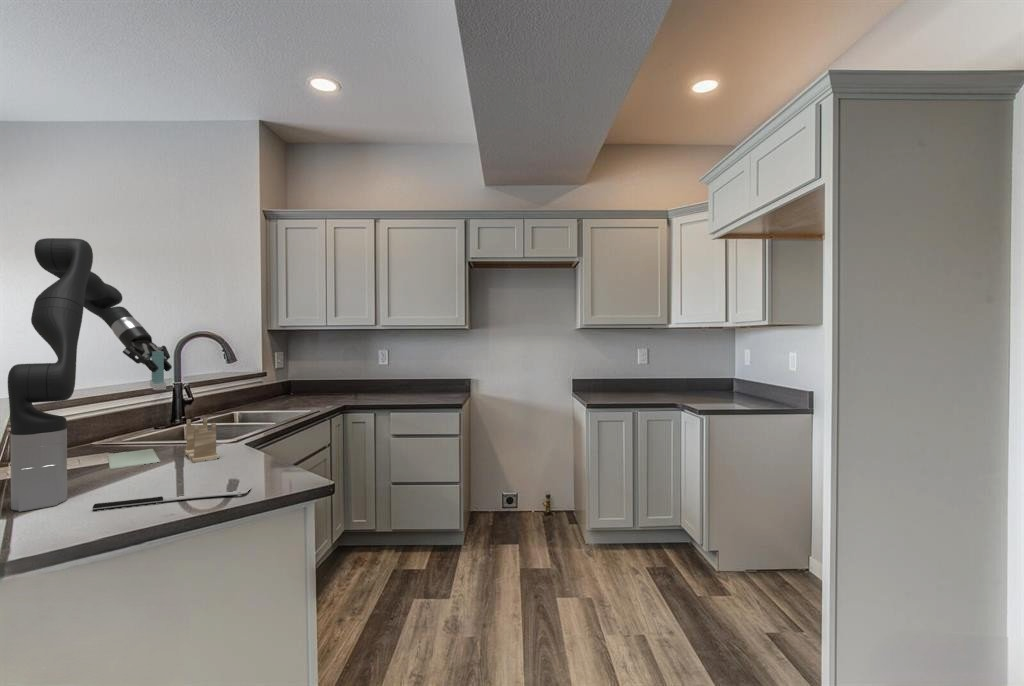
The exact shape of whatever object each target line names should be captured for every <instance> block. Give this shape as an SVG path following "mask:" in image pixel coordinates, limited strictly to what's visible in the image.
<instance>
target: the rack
mask: <svg viewBox="0 0 1024 686" xmlns="http://www.w3.org/2000/svg"><path fill="white" fill-rule="evenodd" d="M185 422H186V426H185V427H186V428H185V429H186V433H185V434H186V435H185V436H186V448H184V449H183V453H184V455H187V456H188V457H187V456H186V457H187V458H188V459H189V460H190V461H191V463H192V464H195V463H194V462H197V463H201V462H200V461H203V462H206V461H205V460H210V461H212V460H211V459H217V458H219V459H220V456H219V454H218V453H217V423H216V422H212V423H210V426H211V427H210V430H208V418H207V417H203V418H202V424H193V425H192V419H190V418H189V419H186V420H185ZM217 460H218V459H217Z"/></svg>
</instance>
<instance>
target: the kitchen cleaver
mask: <svg viewBox="0 0 1024 686" xmlns="http://www.w3.org/2000/svg"><path fill="white" fill-rule="evenodd" d="M248 491H249V490H246V491H233V492H224V493H223V492H222V493H212V494H200V495H192V496H179V497H168V498H166V497H163V496H155V497H144V498H135V499H128V500H119V501H118V500H117V501H108V502H100V503H99V502H98V503H94V504H93V506H92V511H93V512H98V511H97V510H101V511H105V510H104V509H109V510H115V509H114V508H118V509H123V508H122V507H127V508H133V507H132V506H136V507H140V506H139V505H145V506H149V505H148V504H153V505H157V504H156V503H161V504H164V502H172V501H181V500H189V499H191V500H192V499H200V498H211V497H212V498H213V497H223V496H239V495H240V496H241V495H245V494H247V493H249V492H250V491H249V492H248Z"/></svg>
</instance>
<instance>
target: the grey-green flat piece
mask: <svg viewBox="0 0 1024 686" xmlns="http://www.w3.org/2000/svg"><path fill="white" fill-rule="evenodd" d="M151 360H152V361H153V362H154V363H155V364H156V365H157V366H158V370H157V371H156V372H152V371H151V379H149V386H150V387H151V388H152V390H153V391H160V390H162V391H164V390H167V383H166V382H165V377H164V376H165V373H164V372H165V370H164V351H152V359H151Z"/></svg>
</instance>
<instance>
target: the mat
mask: <svg viewBox="0 0 1024 686" xmlns="http://www.w3.org/2000/svg"><path fill="white" fill-rule="evenodd" d="M107 460H108V465H109V466H108V467H109V470H111V471H112V470H118V469H124V468H130V467H131V468H132V467H138V466H145V465H144V464H146V465H151V464H150V463H153V464H158V463H157V462H159V463H161V459H159V457H158V455H157V453H156V452H155V450H154V449H153V448H149V449H148V448H147V449H139V450H132V451H131V450H130V451H125V452H116V453H109V454H107Z"/></svg>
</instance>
